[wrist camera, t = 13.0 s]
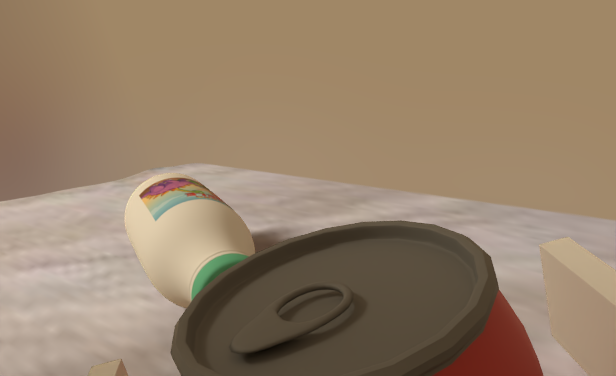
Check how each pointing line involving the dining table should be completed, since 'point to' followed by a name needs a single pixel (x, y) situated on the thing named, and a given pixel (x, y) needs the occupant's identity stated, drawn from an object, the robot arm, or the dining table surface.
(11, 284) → the dining table surface
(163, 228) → the milk bottle
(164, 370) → the dining table surface
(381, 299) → the beer can
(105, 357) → the dining table surface
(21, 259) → the dining table surface
